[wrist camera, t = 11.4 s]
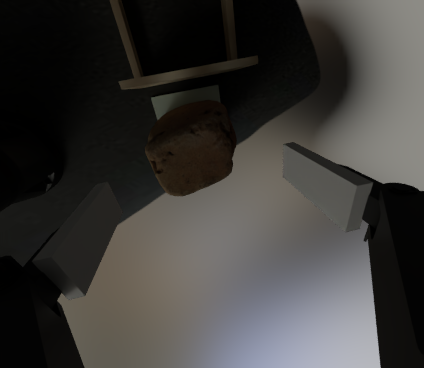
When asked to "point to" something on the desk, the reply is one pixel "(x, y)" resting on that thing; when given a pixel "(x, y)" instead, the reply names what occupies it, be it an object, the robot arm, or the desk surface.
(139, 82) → the cradle
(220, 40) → the desk surface
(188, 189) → the brown potato
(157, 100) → the mat
